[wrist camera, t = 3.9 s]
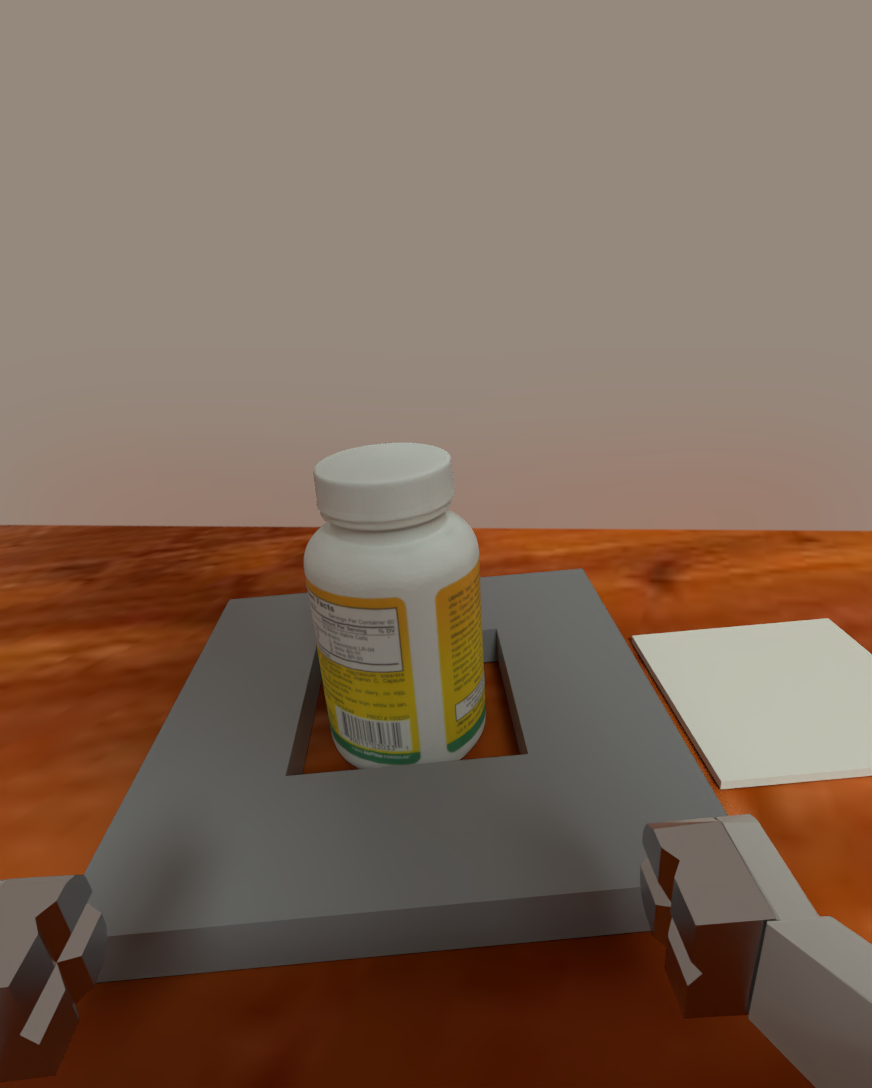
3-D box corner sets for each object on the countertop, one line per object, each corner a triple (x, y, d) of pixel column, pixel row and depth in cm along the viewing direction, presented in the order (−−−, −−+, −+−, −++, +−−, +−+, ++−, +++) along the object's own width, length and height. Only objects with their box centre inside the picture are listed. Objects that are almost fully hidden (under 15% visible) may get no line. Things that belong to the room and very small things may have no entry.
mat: (720, 789, 19) (721, 781, 19) (631, 642, 26) (631, 635, 26) (992, 764, 19) (994, 756, 19) (826, 624, 26) (828, 618, 26)
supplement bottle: (351, 806, 19) (299, 504, 15) (320, 704, 24) (275, 453, 20) (515, 754, 21) (504, 467, 17) (455, 667, 25) (437, 428, 22)
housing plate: (68, 985, 15) (48, 941, 14) (236, 628, 30) (229, 599, 29) (755, 921, 15) (762, 875, 14) (581, 597, 30) (582, 568, 29)
